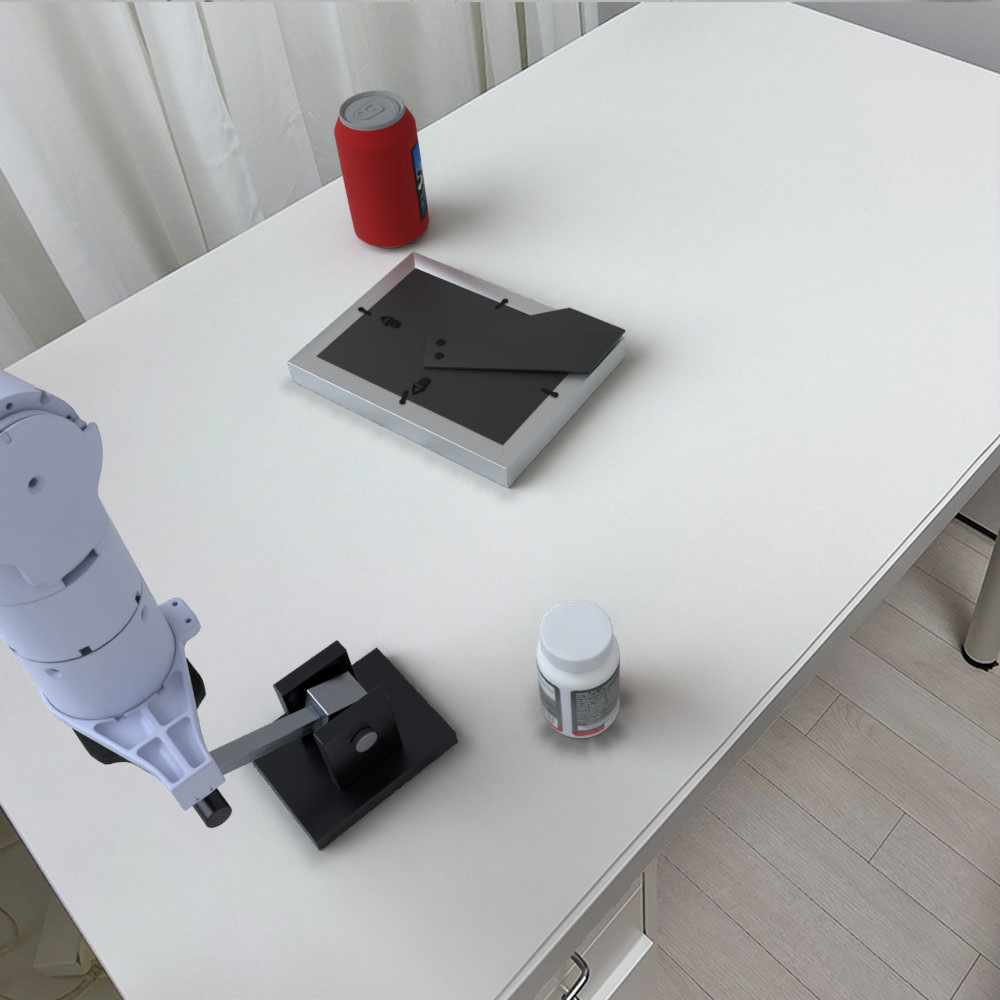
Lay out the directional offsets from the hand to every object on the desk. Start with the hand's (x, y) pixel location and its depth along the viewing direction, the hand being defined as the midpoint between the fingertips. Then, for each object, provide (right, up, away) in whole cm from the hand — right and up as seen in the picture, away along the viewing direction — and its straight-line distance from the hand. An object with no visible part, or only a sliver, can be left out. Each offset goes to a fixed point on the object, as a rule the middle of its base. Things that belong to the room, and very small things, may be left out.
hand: (172, 757), depth 55 cm
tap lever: (+4, -1, +5) cm, 7 cm away
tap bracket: (+7, -2, +11) cm, 13 cm away
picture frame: (+13, +23, +32) cm, 41 cm away
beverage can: (+7, +37, +44) cm, 57 cm away
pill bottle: (+21, 0, +12) cm, 24 cm away
